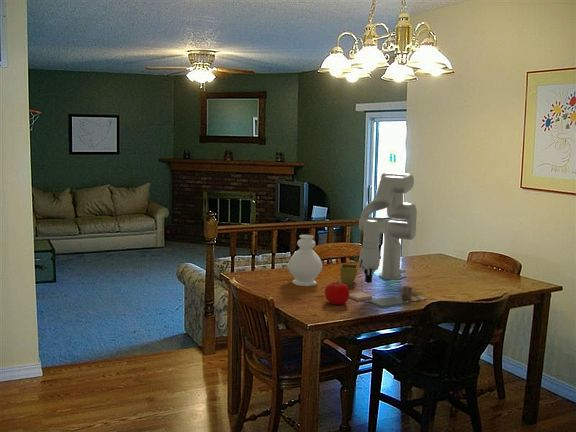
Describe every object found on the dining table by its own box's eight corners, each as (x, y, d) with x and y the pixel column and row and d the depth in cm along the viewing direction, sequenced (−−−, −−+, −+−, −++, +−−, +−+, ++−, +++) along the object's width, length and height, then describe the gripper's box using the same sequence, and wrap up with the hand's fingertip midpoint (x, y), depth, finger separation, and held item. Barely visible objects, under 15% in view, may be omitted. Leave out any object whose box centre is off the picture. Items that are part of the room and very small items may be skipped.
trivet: (393, 298, 304) (393, 296, 304) (407, 303, 296) (407, 301, 296) (368, 302, 295) (368, 300, 295) (382, 308, 287) (382, 305, 287)
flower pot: (355, 285, 325) (356, 268, 324) (338, 283, 327) (339, 267, 325) (357, 281, 334) (358, 265, 332) (340, 279, 335) (341, 263, 334)
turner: (407, 302, 298) (408, 288, 297) (400, 299, 302) (401, 285, 301) (425, 299, 304) (426, 285, 303) (418, 297, 308) (419, 283, 307)
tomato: (354, 305, 290) (355, 283, 288) (335, 308, 283) (336, 286, 282) (337, 298, 299) (339, 277, 298) (319, 301, 293) (320, 280, 291)
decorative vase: (328, 283, 326) (330, 236, 322) (305, 289, 313) (308, 240, 309) (302, 276, 338) (305, 231, 334) (280, 282, 325) (282, 234, 321)
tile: (361, 291, 308) (347, 294, 303) (372, 295, 302) (357, 298, 297) (361, 295, 308) (347, 298, 304) (371, 299, 302) (357, 302, 297)
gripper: (377, 242, 309) (374, 278, 311) (353, 244, 300) (351, 281, 303) (387, 245, 302) (385, 282, 305) (363, 247, 294) (361, 285, 297)
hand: (368, 282), depth 304 cm, fingers closed
